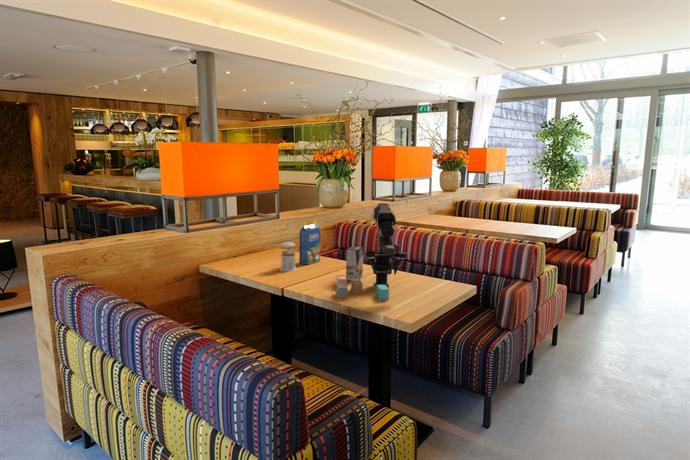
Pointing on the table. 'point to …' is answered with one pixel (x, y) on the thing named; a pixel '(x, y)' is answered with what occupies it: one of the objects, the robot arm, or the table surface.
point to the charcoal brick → (341, 290)
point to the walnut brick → (356, 286)
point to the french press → (288, 257)
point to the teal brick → (382, 292)
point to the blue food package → (309, 243)
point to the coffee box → (354, 263)
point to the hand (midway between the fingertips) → (384, 274)
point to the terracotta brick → (341, 279)
